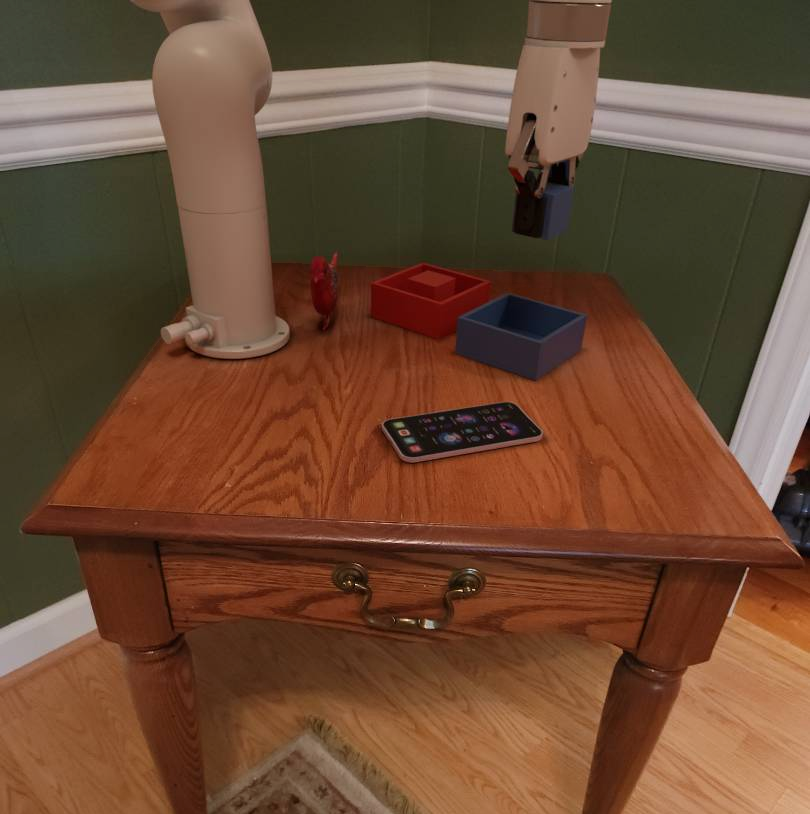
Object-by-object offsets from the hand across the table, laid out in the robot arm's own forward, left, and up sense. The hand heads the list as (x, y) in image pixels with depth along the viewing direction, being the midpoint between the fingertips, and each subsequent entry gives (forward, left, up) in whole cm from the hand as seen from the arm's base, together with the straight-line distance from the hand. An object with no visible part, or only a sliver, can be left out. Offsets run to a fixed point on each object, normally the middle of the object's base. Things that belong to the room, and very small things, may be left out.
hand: (539, 228), depth 80 cm
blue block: (0, 0, 0) cm, 0 cm away
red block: (+2, +16, -14) cm, 21 cm away
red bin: (+2, +16, -14) cm, 21 cm away
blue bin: (0, +1, -14) cm, 14 cm away
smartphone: (-21, -5, -15) cm, 26 cm away
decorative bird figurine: (-8, +25, -15) cm, 30 cm away
